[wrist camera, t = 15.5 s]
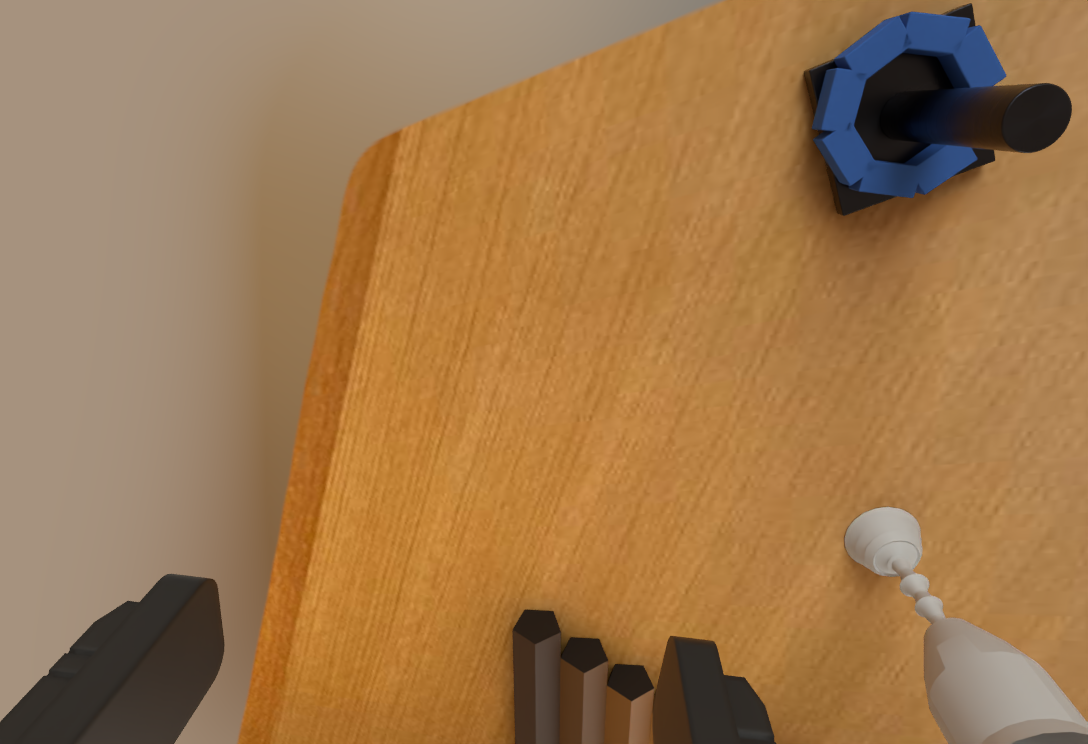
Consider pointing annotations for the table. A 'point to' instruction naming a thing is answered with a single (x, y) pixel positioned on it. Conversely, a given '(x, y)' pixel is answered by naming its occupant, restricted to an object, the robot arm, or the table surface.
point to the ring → (843, 86)
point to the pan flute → (575, 689)
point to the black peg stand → (942, 115)
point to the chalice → (966, 653)
